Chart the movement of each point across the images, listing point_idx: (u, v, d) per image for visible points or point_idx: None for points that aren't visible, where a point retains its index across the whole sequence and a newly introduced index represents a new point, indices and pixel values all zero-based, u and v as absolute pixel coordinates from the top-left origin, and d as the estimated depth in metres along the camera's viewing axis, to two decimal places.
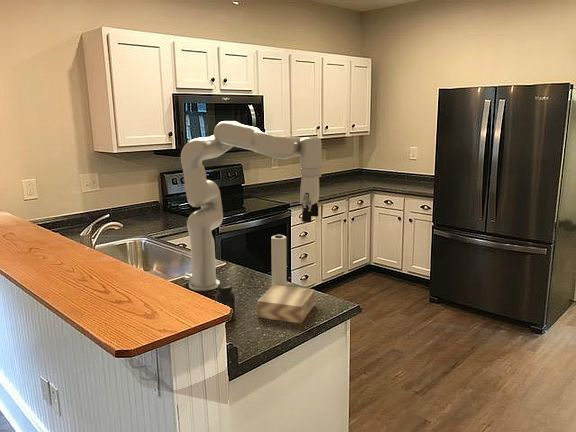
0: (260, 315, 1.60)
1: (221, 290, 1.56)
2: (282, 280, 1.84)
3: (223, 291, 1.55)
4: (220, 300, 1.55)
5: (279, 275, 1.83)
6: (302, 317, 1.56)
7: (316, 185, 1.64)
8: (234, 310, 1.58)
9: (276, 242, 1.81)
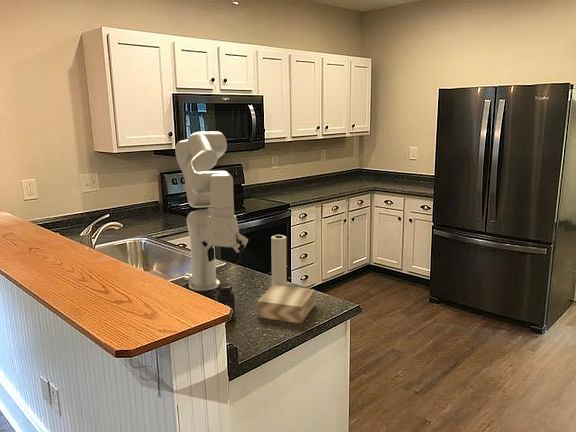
0: (260, 315, 1.60)
1: (221, 290, 1.56)
2: (282, 280, 1.84)
3: (223, 291, 1.55)
4: (220, 300, 1.55)
5: (279, 275, 1.83)
6: (302, 317, 1.56)
7: None
8: (234, 310, 1.58)
9: (276, 242, 1.81)
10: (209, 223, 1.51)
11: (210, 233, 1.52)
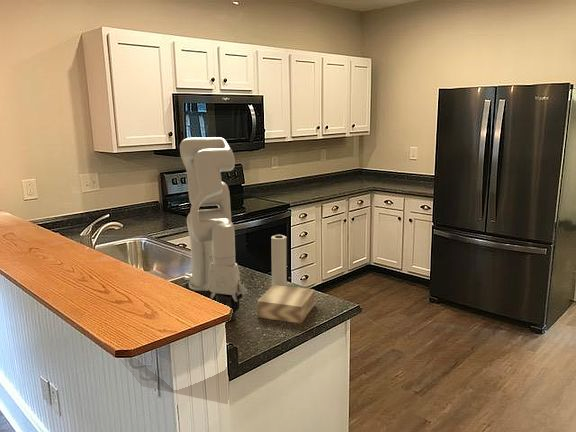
0: (260, 315, 1.60)
1: None
2: (282, 280, 1.84)
3: None
4: (220, 300, 1.55)
5: (279, 275, 1.83)
6: (302, 317, 1.56)
7: None
8: None
9: (276, 242, 1.81)
10: (211, 271, 1.55)
11: (212, 280, 1.56)
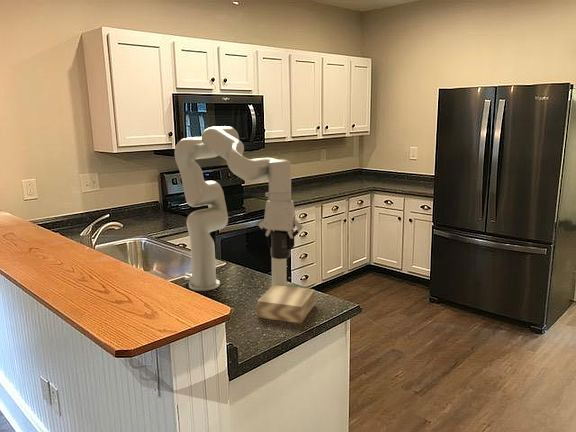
0: (260, 315, 1.60)
1: None
2: (282, 280, 1.84)
3: None
4: (276, 237, 1.56)
5: (279, 275, 1.83)
6: (302, 317, 1.56)
7: None
8: None
9: None
10: (267, 208, 1.56)
11: (268, 217, 1.56)
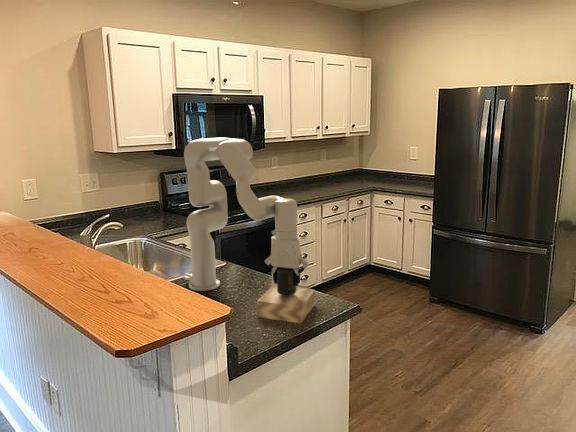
0: (260, 315, 1.60)
1: None
2: None
3: None
4: (282, 274, 1.59)
5: None
6: (302, 317, 1.56)
7: None
8: None
9: None
10: (274, 245, 1.59)
11: (274, 254, 1.60)
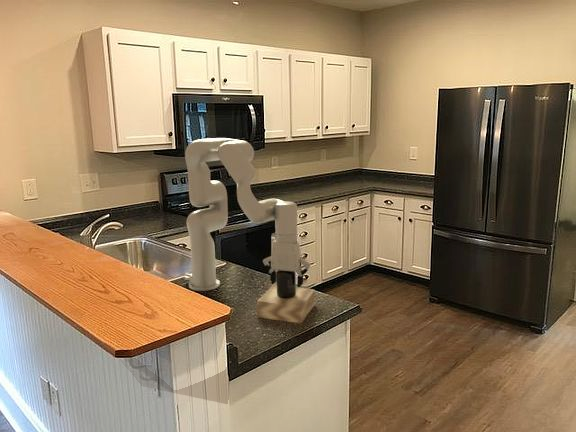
0: (260, 315, 1.60)
1: None
2: None
3: None
4: (282, 277, 1.60)
5: None
6: (302, 317, 1.56)
7: None
8: (295, 287, 1.62)
9: None
10: (274, 248, 1.59)
11: (274, 257, 1.60)
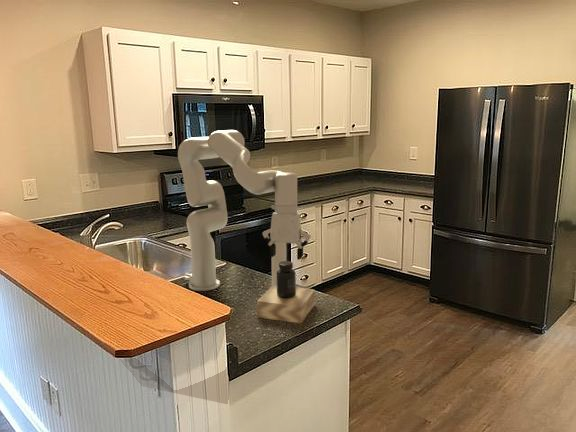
0: (260, 315, 1.60)
1: (283, 267, 1.60)
2: None
3: (285, 268, 1.60)
4: (282, 277, 1.60)
5: None
6: (302, 317, 1.56)
7: None
8: (295, 287, 1.62)
9: (276, 242, 1.81)
10: (273, 220, 1.57)
11: (274, 229, 1.58)
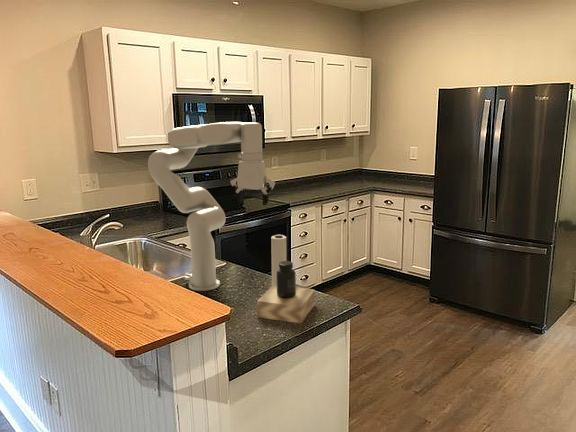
0: (260, 315, 1.60)
1: (283, 267, 1.60)
2: None
3: (285, 268, 1.60)
4: (282, 277, 1.60)
5: None
6: (302, 317, 1.56)
7: None
8: (295, 287, 1.62)
9: (276, 242, 1.81)
10: (240, 168, 1.67)
11: (240, 176, 1.67)
